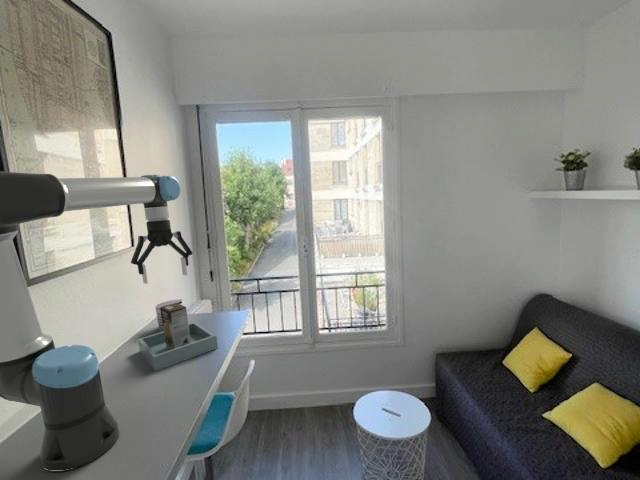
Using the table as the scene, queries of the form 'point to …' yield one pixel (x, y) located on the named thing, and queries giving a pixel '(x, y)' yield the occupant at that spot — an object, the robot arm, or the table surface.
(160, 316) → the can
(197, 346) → the bin
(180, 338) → the coffee box
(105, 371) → the table surface
